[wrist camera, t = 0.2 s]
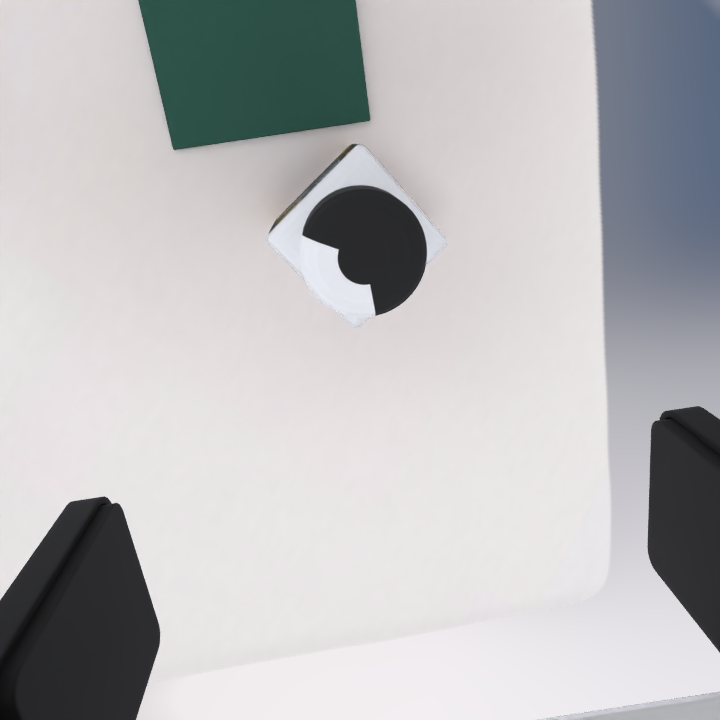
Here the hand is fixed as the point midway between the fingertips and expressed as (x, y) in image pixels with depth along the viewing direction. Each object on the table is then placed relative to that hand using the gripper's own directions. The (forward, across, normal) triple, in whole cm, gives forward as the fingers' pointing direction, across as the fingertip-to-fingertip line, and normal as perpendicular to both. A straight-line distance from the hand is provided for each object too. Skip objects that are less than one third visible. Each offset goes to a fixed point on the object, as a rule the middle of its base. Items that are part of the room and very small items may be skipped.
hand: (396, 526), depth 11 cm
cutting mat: (+31, +3, -14) cm, 34 cm away
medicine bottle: (+31, -1, -1) cm, 31 cm away
